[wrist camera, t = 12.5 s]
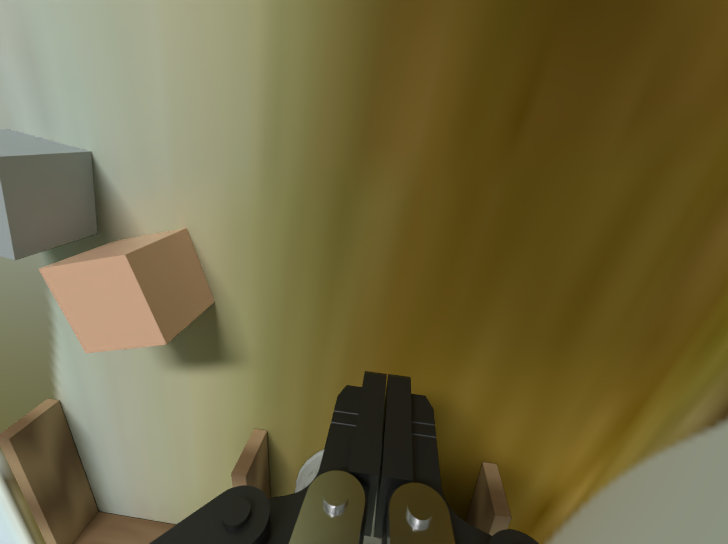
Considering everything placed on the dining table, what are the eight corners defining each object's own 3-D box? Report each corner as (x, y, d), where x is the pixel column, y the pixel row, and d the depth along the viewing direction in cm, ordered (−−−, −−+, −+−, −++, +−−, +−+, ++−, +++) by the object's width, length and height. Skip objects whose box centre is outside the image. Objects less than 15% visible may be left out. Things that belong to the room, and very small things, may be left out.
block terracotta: (117, 239, 17) (38, 268, 13) (187, 227, 16) (125, 254, 13) (149, 309, 19) (86, 353, 15) (215, 301, 18) (166, 344, 14)
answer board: (47, 398, 22) (-12, 442, 19) (496, 464, 20) (514, 526, 17) (93, 521, 27) (51, 573, 24) (459, 584, 25) (467, 651, 21)
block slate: (9, 128, 16) (-113, 127, 12) (92, 151, 16) (-4, 156, 12) (22, 212, 17) (-82, 234, 13) (98, 233, 17) (15, 260, 13)
